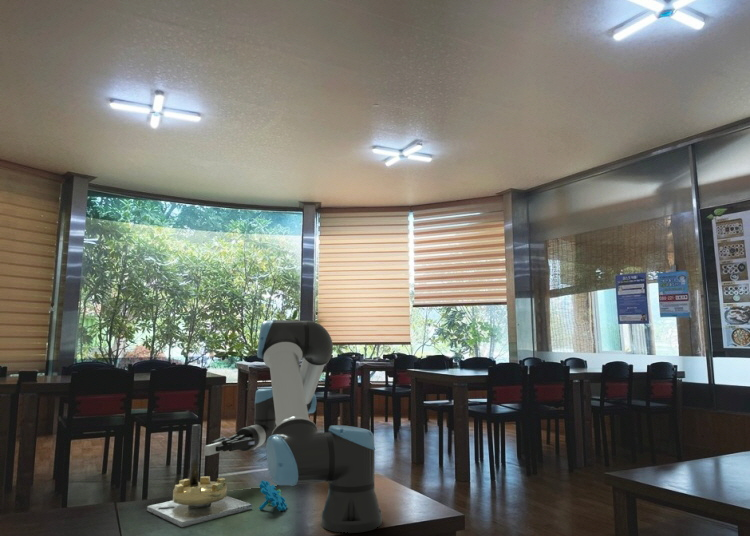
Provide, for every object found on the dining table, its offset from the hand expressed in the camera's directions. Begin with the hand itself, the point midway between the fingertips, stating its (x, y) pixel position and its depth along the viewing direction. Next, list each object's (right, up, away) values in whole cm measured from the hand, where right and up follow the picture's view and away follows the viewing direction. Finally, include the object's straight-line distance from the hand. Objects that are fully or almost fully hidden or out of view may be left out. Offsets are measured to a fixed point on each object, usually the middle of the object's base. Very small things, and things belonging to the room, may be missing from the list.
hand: (206, 450), depth 150 cm
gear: (+22, -12, -12) cm, 28 cm away
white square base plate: (+2, -12, -12) cm, 17 cm away
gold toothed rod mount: (+2, -9, -12) cm, 15 cm away
